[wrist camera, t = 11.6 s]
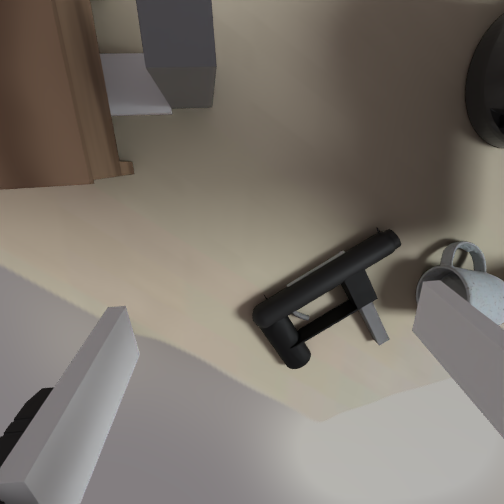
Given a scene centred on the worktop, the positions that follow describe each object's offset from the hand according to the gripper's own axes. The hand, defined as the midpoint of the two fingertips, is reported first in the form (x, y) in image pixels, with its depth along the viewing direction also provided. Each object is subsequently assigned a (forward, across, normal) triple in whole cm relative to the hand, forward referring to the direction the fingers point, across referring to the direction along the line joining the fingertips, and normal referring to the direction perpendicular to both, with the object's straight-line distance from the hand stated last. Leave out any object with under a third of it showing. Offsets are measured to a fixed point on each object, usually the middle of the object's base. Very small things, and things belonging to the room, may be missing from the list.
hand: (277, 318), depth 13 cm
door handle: (+21, -10, +15) cm, 28 cm away
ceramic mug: (+23, -26, +13) cm, 37 cm away
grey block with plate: (+22, +11, -12) cm, 27 cm away
